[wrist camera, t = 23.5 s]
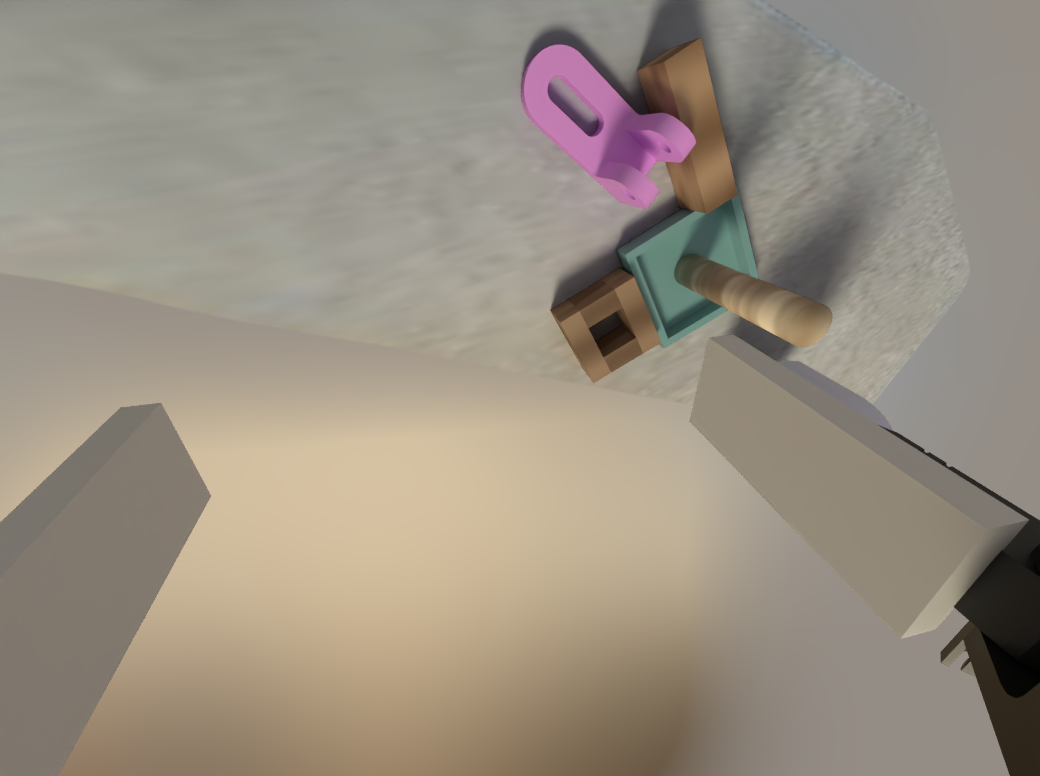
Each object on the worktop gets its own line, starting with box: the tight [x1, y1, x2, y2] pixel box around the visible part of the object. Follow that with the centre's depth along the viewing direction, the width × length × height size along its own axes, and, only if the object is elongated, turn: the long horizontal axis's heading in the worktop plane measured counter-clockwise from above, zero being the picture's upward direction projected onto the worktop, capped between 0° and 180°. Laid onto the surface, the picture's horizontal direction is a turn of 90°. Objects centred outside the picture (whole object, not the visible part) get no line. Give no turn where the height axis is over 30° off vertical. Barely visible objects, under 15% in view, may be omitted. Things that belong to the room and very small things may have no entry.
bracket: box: [521, 45, 696, 209], centre depth 33 cm, size 13×6×7 cm, turn 54°
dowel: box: [674, 254, 832, 348], centre depth 37 cm, size 3×3×16 cm
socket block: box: [550, 268, 661, 383], centre depth 44 cm, size 8×8×4 cm
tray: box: [616, 185, 759, 348], centre depth 43 cm, size 12×12×2 cm
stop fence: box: [637, 38, 738, 214], centre depth 36 cm, size 12×3×4 cm, turn 30°
